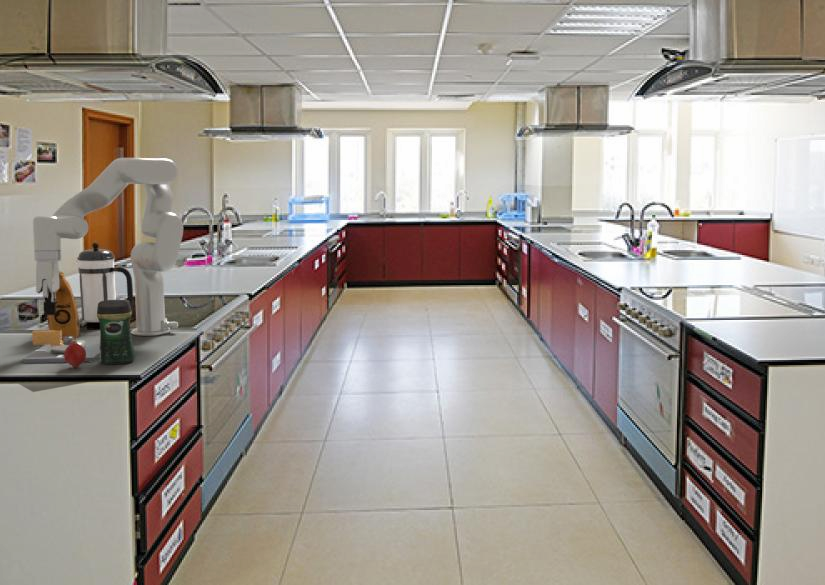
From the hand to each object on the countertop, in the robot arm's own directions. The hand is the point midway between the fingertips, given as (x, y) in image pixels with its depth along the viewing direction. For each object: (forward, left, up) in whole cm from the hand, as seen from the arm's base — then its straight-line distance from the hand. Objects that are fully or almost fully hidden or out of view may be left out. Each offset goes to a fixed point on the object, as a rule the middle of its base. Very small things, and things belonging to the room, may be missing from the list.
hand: (50, 314), depth 247 cm
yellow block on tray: (-4, +7, -10) cm, 13 cm away
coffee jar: (-24, +18, -12) cm, 32 cm away
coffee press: (-4, -44, -12) cm, 46 cm away
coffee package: (+3, -21, -12) cm, 25 cm away
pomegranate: (-14, +24, -12) cm, 30 cm away
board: (-7, +7, -11) cm, 15 cm away
